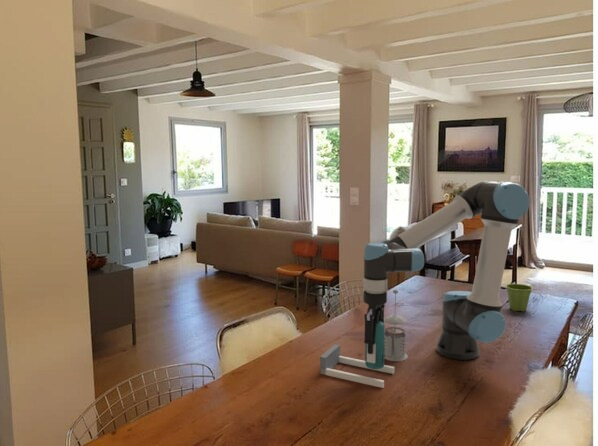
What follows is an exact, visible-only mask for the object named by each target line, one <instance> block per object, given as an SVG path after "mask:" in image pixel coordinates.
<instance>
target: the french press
mask: <svg viewBox="0 0 598 446" xmlns="http://www.w3.org/2000/svg"><path fill="white" fill-rule="evenodd" d="M392 293H393V294H395V295H394V313H396V307H397V306H396V305H397V304H396V303H397V302H396V301H397V294H399V291H398V289H393V290H392ZM406 322H407V319H406V318H405V317H403V316H401V315H398V314H390V315H387V316H384V323H387V324H389V325H394V326H389V327H386V328H384V336H385V337H384V342H385V343H384V349H385V350H384V356H385V360H387V361H390V362H402V361H405V360H407V359H408V354H407V353H406V337H407V336H406V333H405V329H403V328H401V327H396V325H397V326H398V325H402V324H405V323H406Z"/></svg>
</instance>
